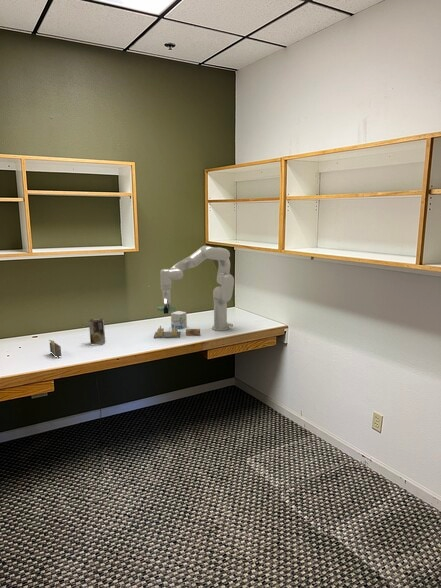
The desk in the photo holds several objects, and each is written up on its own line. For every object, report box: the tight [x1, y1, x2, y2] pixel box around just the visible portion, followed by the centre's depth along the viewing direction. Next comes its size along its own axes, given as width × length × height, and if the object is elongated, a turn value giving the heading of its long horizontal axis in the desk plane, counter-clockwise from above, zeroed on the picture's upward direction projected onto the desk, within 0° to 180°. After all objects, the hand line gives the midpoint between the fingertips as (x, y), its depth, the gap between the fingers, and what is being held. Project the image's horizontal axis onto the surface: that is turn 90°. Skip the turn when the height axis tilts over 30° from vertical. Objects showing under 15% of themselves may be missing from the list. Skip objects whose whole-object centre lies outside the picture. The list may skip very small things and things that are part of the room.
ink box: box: [170, 310, 188, 330], centre depth 318 cm, size 8×8×12 cm
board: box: [157, 305, 176, 312], centre depth 295 cm, size 12×7×2 cm, turn 92°
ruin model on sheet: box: [48, 339, 62, 357], centre depth 258 cm, size 11×3×10 cm, turn 40°
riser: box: [185, 328, 201, 337], centre depth 299 cm, size 10×4×4 cm, turn 92°
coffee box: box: [88, 318, 106, 345], centre depth 281 cm, size 9×6×16 cm
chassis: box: [153, 325, 182, 339], centre depth 298 cm, size 18×12×6 cm, turn 92°
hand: (166, 311), depth 296 cm, fingers closed on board, 7 cm apart
